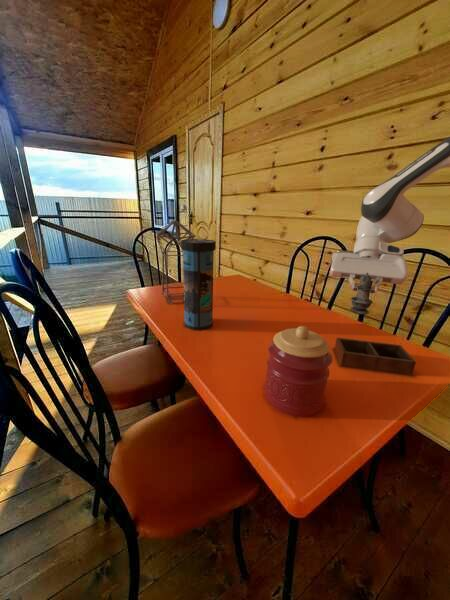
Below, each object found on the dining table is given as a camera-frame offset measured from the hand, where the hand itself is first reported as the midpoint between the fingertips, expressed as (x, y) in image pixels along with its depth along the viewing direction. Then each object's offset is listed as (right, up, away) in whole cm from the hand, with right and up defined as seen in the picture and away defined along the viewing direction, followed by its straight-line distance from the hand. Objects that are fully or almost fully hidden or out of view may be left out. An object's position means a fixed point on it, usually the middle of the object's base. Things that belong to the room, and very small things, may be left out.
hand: (363, 291), depth 74 cm
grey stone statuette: (0, -6, +3) cm, 7 cm away
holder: (0, -21, -2) cm, 21 cm away
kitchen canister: (-25, -25, -17) cm, 39 cm away
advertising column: (-50, -12, +18) cm, 55 cm away
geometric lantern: (-62, -3, +41) cm, 75 cm away
